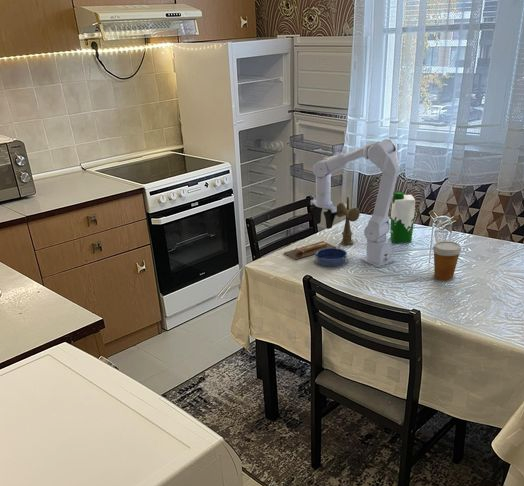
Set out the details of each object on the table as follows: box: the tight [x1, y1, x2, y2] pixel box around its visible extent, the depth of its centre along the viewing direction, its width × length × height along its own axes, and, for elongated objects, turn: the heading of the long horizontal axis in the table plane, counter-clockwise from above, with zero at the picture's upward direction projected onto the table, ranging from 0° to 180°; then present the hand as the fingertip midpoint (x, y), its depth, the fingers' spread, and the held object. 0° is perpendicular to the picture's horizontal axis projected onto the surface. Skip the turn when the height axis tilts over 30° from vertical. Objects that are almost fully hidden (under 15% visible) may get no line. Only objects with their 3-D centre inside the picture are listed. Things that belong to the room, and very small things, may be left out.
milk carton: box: [389, 190, 416, 244], centre depth 222 cm, size 9×9×20 cm
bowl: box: [314, 247, 348, 268], centre depth 211 cm, size 12×12×4 cm
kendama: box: [335, 196, 361, 246], centre depth 222 cm, size 6×10×20 cm, turn 30°
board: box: [283, 240, 337, 261], centre depth 222 cm, size 20×9×1 cm, turn 122°
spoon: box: [295, 241, 327, 252], centre depth 221 cm, size 14×4×6 cm, turn 122°
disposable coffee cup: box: [432, 240, 462, 282], centre depth 191 cm, size 10×10×12 cm
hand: (323, 226), depth 218 cm, fingers open, 7 cm apart
